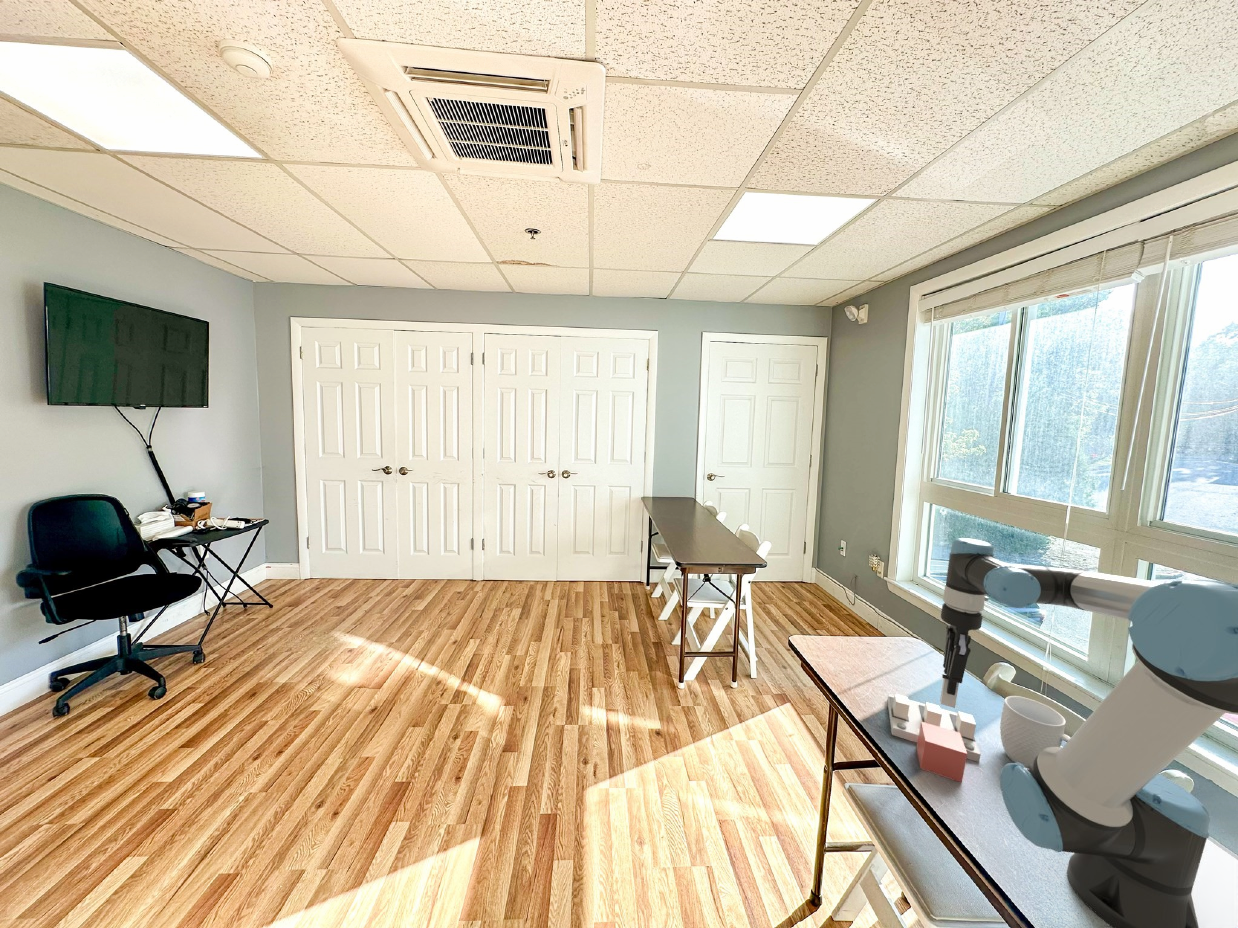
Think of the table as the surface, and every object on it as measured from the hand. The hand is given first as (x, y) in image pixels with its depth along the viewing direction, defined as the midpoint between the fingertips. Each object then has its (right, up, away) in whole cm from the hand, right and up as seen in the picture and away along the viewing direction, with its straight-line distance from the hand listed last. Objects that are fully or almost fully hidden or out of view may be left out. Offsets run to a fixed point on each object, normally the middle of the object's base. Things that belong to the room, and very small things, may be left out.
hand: (947, 704), depth 111 cm
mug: (+21, -15, +2) cm, 26 cm away
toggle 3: (+10, -11, +8) cm, 17 cm away
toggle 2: (+4, -10, +11) cm, 16 cm away
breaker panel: (+4, -12, +12) cm, 18 cm away
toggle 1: (-3, -9, +14) cm, 17 cm away
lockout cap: (-2, -14, 0) cm, 14 cm away
